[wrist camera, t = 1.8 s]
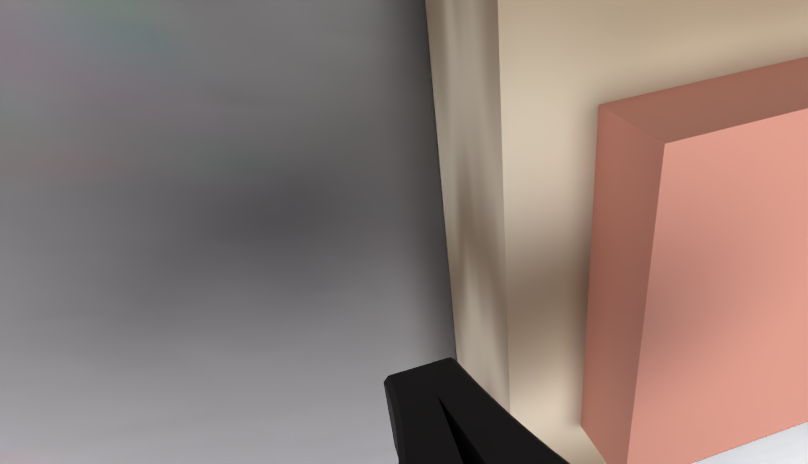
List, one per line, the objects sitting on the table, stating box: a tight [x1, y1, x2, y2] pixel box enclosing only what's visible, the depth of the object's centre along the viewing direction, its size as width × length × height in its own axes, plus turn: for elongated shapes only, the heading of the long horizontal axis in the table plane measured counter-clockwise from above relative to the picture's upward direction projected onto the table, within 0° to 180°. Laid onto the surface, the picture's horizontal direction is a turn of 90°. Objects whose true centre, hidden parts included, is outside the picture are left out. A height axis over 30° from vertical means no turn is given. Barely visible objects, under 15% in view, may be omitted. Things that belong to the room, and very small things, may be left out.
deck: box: [425, 0, 808, 464], centre depth 17 cm, size 14×9×4 cm, turn 7°
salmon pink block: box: [581, 56, 808, 464], centre depth 14 cm, size 9×6×2 cm, turn 7°
